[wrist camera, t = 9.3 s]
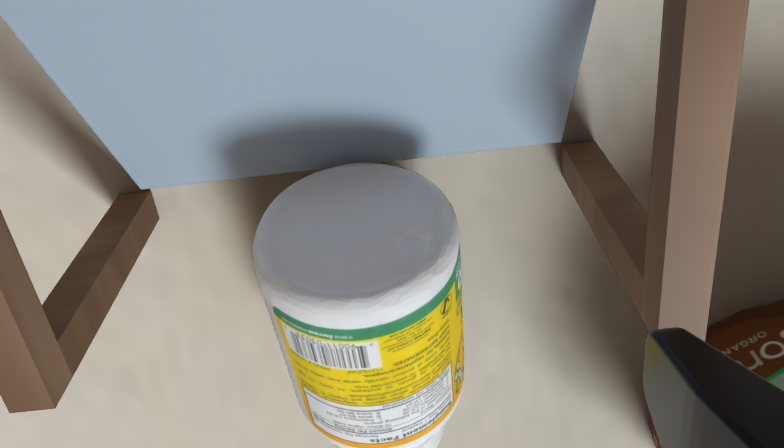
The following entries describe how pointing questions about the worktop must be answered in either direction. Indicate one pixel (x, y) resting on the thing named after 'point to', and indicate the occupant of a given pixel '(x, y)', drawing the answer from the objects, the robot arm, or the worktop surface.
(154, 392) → the worktop surface
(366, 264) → the supplement bottle
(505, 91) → the grey flat block
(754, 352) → the food container
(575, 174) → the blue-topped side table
